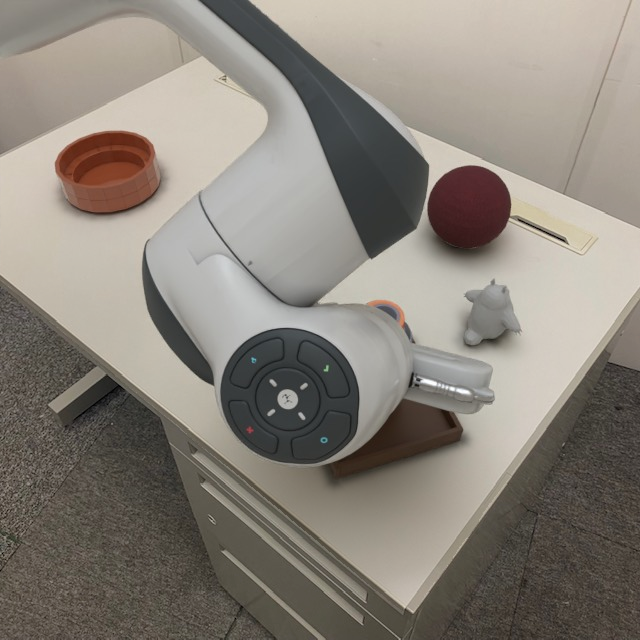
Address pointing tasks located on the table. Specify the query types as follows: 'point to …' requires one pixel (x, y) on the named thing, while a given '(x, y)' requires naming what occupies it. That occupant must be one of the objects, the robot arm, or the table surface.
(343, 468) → the tray
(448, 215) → the decorative ball
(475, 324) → the figurine
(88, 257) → the table surface
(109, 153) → the bowl
